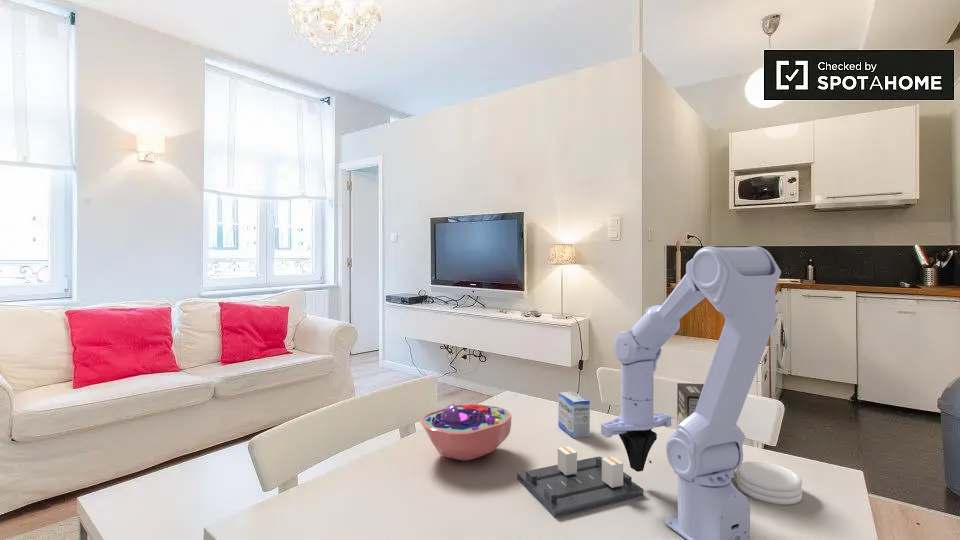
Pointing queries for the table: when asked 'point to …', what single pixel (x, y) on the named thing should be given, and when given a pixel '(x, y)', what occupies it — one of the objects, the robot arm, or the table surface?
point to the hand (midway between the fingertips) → (636, 469)
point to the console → (576, 488)
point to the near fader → (612, 471)
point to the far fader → (567, 460)
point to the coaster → (769, 483)
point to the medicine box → (574, 414)
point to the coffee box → (687, 399)
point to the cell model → (467, 430)
